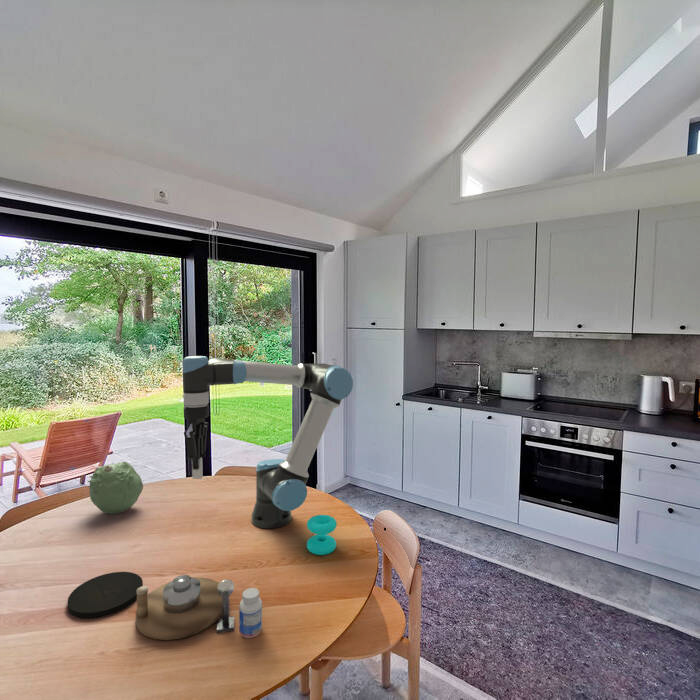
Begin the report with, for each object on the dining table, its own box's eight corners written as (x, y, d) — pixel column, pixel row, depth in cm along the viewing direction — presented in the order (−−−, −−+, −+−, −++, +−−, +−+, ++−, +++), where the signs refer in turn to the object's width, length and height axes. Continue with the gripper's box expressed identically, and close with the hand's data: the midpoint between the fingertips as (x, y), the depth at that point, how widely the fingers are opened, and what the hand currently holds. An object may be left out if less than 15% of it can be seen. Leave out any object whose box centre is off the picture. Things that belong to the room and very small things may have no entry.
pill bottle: (241, 623, 106) (241, 585, 105) (263, 622, 106) (263, 585, 106) (237, 639, 100) (237, 600, 100) (260, 638, 101) (260, 599, 100)
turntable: (168, 578, 122) (168, 551, 122) (240, 587, 119) (240, 559, 118) (115, 632, 101) (114, 599, 100) (200, 645, 97) (200, 611, 97)
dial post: (234, 619, 107) (234, 574, 107) (233, 630, 103) (234, 583, 103) (217, 621, 106) (217, 576, 106) (216, 633, 102) (216, 586, 102)
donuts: (300, 519, 141) (322, 510, 149) (300, 548, 142) (322, 538, 149) (321, 529, 135) (342, 519, 142) (320, 560, 135) (342, 548, 143)
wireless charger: (95, 577, 124) (95, 570, 124) (154, 579, 124) (154, 572, 124) (50, 618, 107) (50, 611, 107) (119, 621, 106) (119, 614, 106)
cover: (175, 589, 115) (175, 568, 115) (206, 593, 114) (206, 571, 113) (155, 611, 106) (155, 588, 106) (188, 615, 105) (188, 592, 104)
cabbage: (150, 509, 169) (150, 461, 168) (99, 526, 154) (98, 473, 153) (132, 499, 179) (131, 453, 178) (82, 514, 164) (81, 464, 163)
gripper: (193, 401, 140) (195, 470, 141) (174, 409, 127) (176, 485, 128) (215, 401, 139) (217, 471, 141) (198, 409, 126) (200, 486, 128)
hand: (197, 477), depth 135 cm, fingers closed
